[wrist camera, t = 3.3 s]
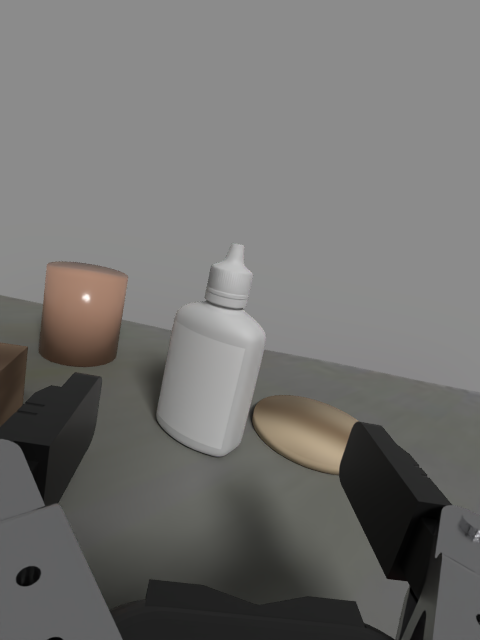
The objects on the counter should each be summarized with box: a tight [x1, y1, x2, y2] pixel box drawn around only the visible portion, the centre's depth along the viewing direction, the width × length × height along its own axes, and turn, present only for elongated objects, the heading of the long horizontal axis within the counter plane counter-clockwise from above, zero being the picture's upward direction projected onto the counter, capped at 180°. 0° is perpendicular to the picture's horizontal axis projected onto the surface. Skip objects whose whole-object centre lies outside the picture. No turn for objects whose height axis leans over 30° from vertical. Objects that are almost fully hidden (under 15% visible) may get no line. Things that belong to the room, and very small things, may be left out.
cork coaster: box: [252, 395, 359, 475], centre depth 27 cm, size 9×9×1 cm
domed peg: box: [39, 262, 128, 367], centre depth 30 cm, size 6×6×7 cm
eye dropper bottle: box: [156, 243, 266, 457], centre depth 22 cm, size 4×6×12 cm
